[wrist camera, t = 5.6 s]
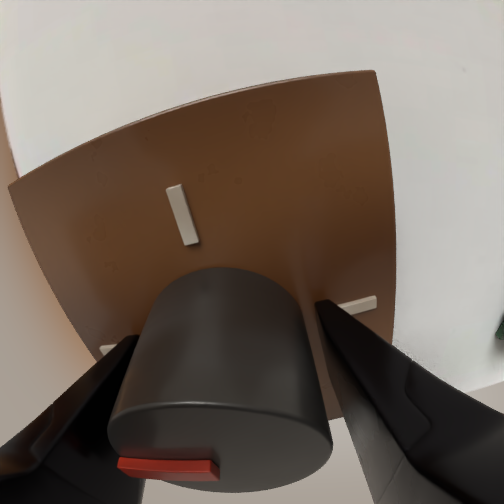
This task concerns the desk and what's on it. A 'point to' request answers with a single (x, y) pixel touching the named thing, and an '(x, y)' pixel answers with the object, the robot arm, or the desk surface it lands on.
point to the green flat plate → (500, 332)
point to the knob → (222, 388)
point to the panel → (224, 207)
